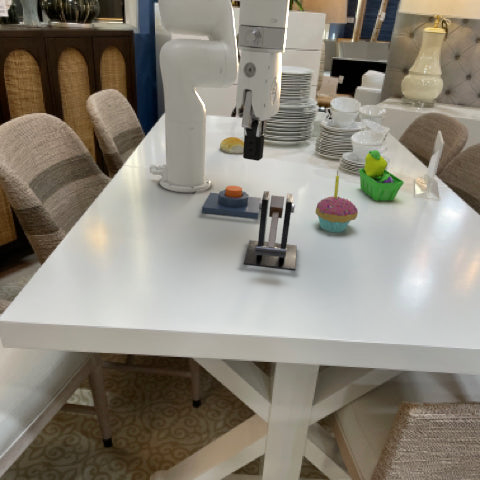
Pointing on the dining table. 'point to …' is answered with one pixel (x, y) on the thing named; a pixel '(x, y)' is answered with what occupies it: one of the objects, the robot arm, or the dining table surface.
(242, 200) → the button block
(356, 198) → the dining table surface
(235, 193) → the button
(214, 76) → the robot arm
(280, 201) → the lever
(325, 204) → the cupcake
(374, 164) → the fruit basket
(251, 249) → the bracket
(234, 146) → the bread roll
